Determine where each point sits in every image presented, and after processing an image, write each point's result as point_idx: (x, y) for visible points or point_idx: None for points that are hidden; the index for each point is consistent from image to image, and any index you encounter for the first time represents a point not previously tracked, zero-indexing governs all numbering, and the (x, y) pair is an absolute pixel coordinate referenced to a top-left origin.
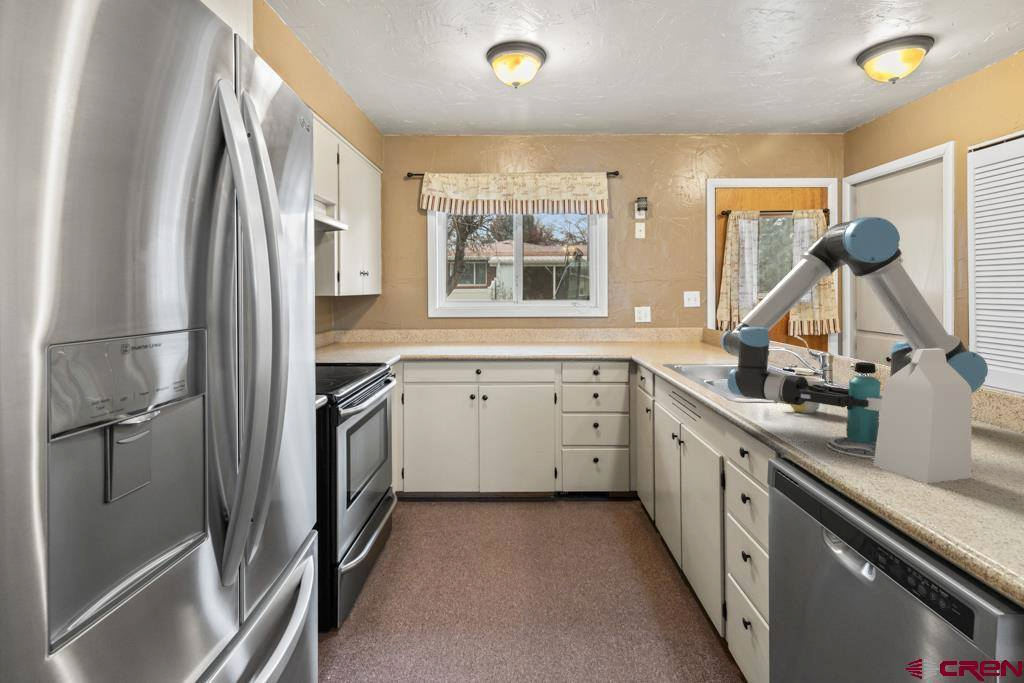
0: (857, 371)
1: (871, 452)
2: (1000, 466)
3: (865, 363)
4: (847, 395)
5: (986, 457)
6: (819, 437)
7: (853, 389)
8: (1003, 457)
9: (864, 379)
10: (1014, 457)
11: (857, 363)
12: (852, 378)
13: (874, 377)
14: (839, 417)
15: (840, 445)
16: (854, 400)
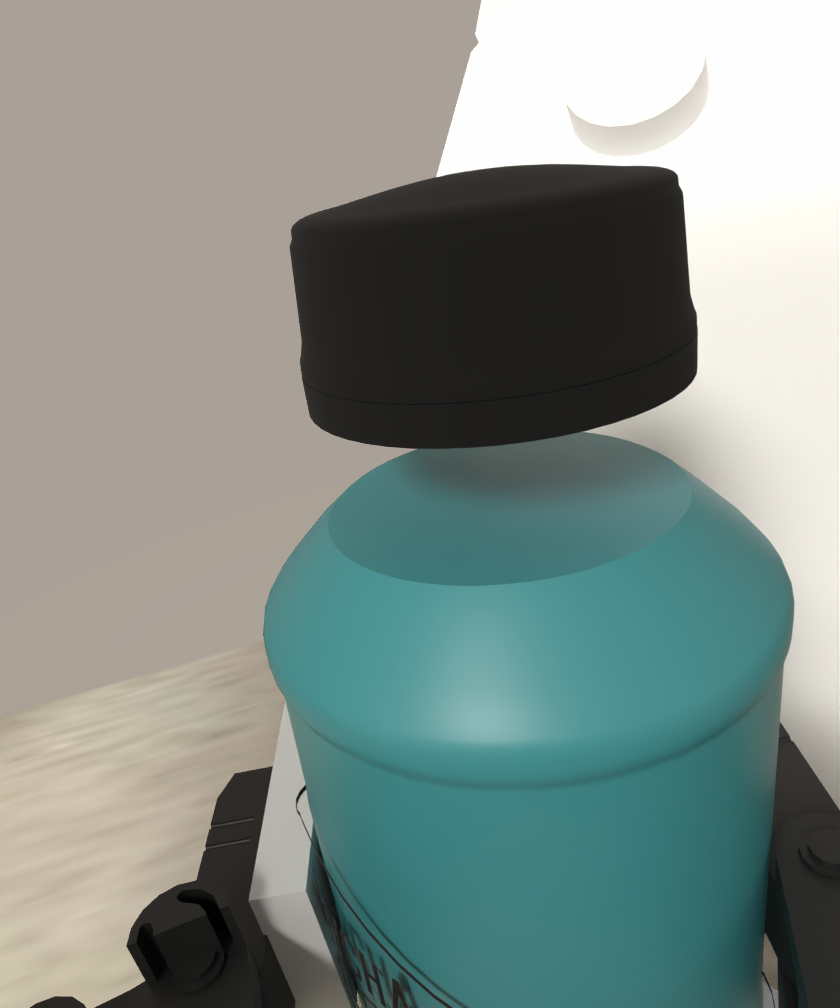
0: (692, 358)
1: (764, 984)
2: (260, 668)
3: (538, 164)
4: (821, 902)
5: (125, 739)
6: None
7: (780, 710)
8: (77, 717)
9: (659, 455)
10: (50, 703)
11: (614, 178)
12: (669, 604)
13: (398, 459)
14: None
15: None
16: (823, 804)
